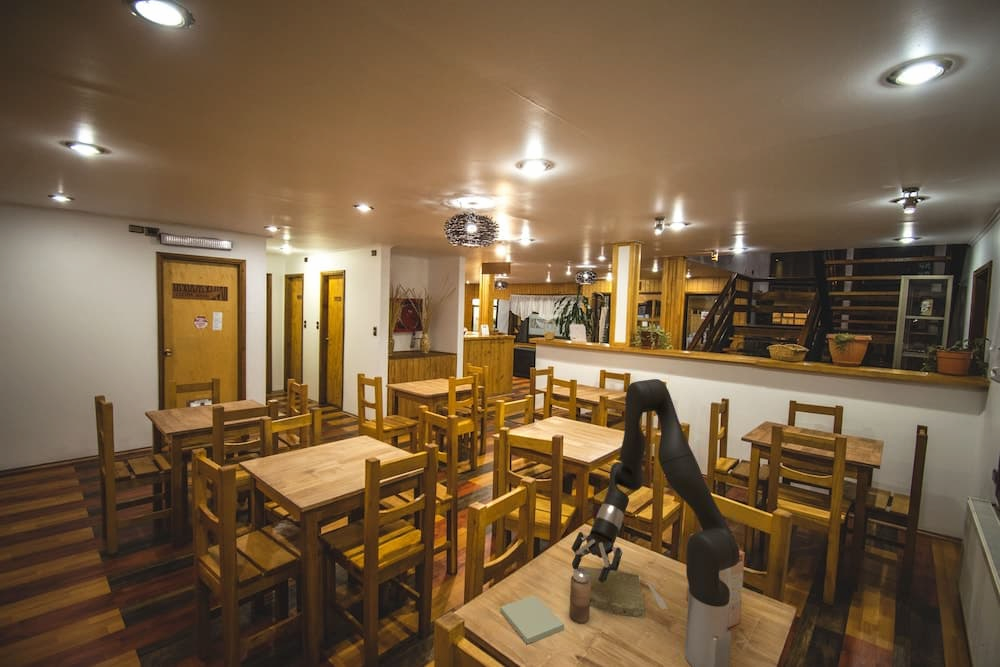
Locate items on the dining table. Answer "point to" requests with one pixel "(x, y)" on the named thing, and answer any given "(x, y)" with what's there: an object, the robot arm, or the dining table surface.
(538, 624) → the serving board
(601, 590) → the decorative tile
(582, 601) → the pepper mill
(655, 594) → the butter knife
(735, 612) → the cracker box
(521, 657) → the dining table surface
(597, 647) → the dining table surface
